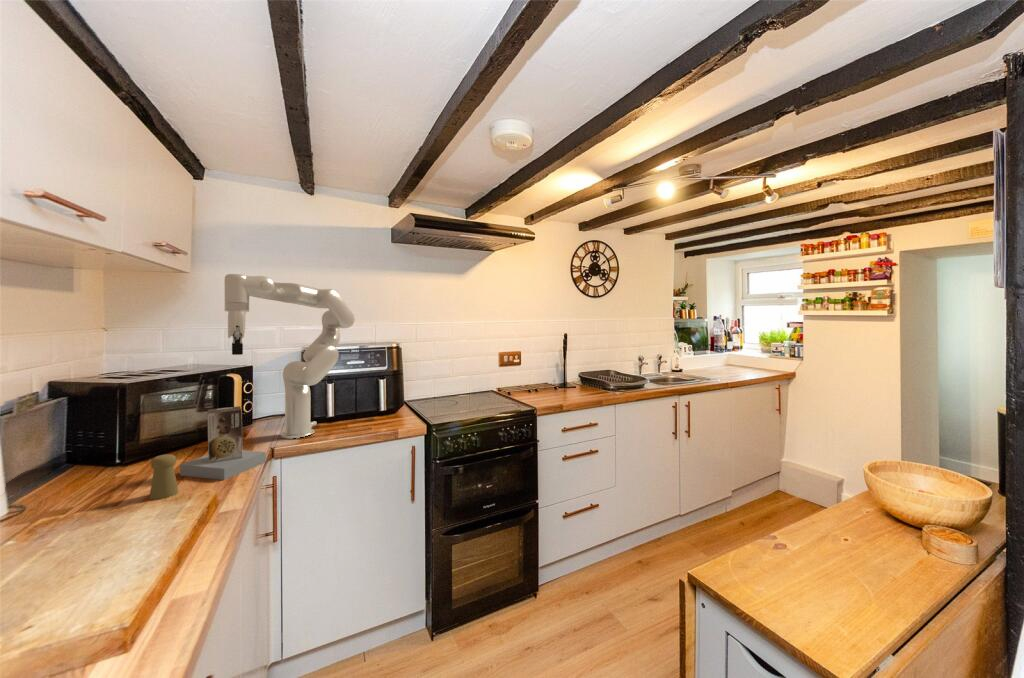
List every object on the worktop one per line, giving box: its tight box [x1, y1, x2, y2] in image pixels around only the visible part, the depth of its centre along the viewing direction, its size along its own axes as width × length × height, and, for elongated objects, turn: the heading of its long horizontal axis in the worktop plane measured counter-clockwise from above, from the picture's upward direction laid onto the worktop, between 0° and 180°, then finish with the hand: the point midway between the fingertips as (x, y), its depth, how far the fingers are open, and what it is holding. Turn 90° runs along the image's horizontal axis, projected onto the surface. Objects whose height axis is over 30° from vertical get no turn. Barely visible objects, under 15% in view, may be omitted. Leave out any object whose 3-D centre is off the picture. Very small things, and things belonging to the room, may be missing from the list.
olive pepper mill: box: [149, 453, 179, 500], centre depth 108 cm, size 6×6×11 cm
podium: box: [179, 449, 267, 481], centre depth 128 cm, size 16×16×4 cm
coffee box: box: [207, 406, 244, 463], centre depth 128 cm, size 9×6×16 cm
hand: (237, 353), depth 146 cm, fingers open, 9 cm apart
